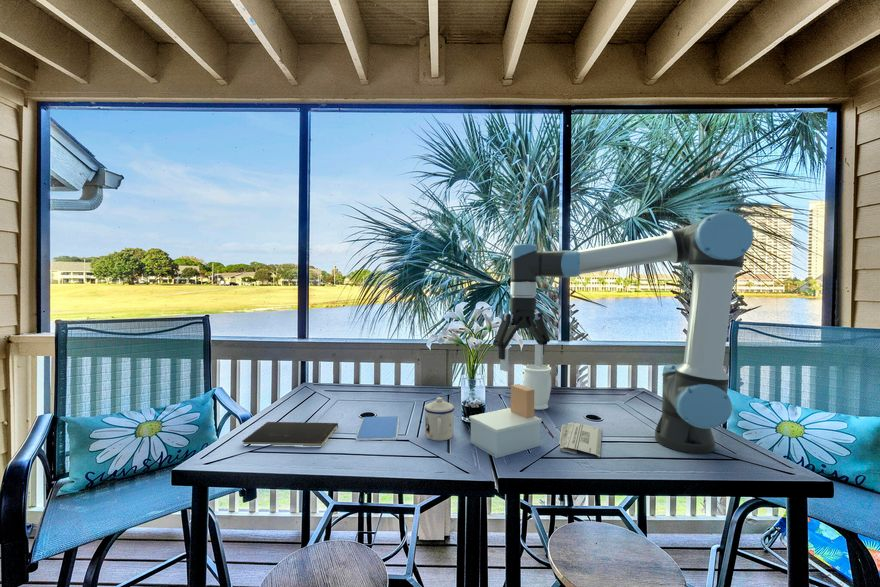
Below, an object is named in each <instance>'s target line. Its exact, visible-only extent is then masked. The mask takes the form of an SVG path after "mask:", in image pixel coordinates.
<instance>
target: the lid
mask: <svg viewBox="0 0 880 587" xmlns="http://www.w3.org/2000/svg"><path fill="white" fill-rule="evenodd" d="M534 390H535V389H532V388H529V387H525V386H523V384H522V385H521V384H519V383H518V384H511V385H510V407H507V408H502V409H498V410H492V411H487V412H484V413H479V414H474V415H469V417H468V419H469V420H470V421H471V420H472V421H474V422H476V423H478V424H480V425H482V426H484V427H486V428H488V429H490V430H492V431H494V432H495V433H498V432H503V431H507V430H511V429H515V428H519V427H523V426H527V425H531V424H535V423H540V424H541V423H542V422H543V419H542V418H541V417H538V416H535V409H534Z"/></svg>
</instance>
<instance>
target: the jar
mask: <svg viewBox="0 0 880 587" xmlns="http://www.w3.org/2000/svg"><path fill="white" fill-rule="evenodd" d="M522 368H523V370H524V371H523V380H522V381H523V382H522V386H525V387H529V388H532V389H535V390H534V410H538V411H540V410H546V409H548V408H549V405H548V402H549V399H550V398H551V391H552V375H551V372H552V367H551V366H548V365H544V364H543V366H542V367H541V366H537V365H535V364H526V365H524V366H523V367H522Z"/></svg>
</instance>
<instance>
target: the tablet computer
mask: <svg viewBox="0 0 880 587" xmlns="http://www.w3.org/2000/svg"><path fill="white" fill-rule="evenodd" d="M399 425H400V416H394V415H393V416H364V417H362V419H361V423H360V425H359V427H358V431H357V432H358V433H357V432H356V435H355V438H354V440H355V439H356V440H382V441H397V440H398V434H399ZM396 439H397V440H396Z"/></svg>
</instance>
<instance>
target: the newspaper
mask: <svg viewBox="0 0 880 587" xmlns="http://www.w3.org/2000/svg"><path fill="white" fill-rule="evenodd" d="M602 437H603V429H601V428H600V427H595V426H592V425H587V424H583V423H578V422H568V423H567V425H566V424H561V428H560V434H559V442H558V445H559V444H560V446H559V447H560V448H559V451H560V452H564V453H570V454H573V455H574V454H578V452H577V451H580V452H584V453H588V454H592V455H594V456H597V458H598V459H599V458H601V451H602Z"/></svg>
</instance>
